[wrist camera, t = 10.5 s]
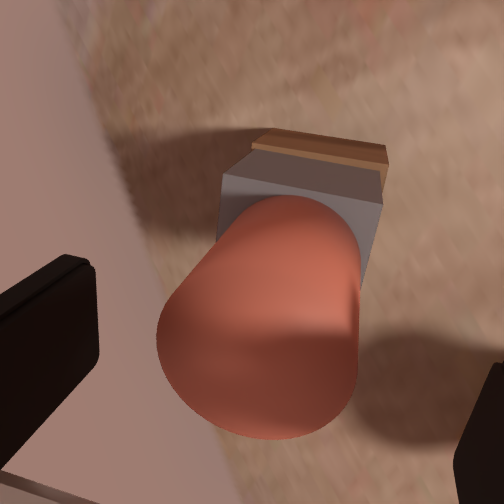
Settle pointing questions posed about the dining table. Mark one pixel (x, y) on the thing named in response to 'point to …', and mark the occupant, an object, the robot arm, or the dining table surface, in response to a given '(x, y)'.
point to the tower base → (326, 149)
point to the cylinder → (268, 322)
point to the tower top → (305, 191)
